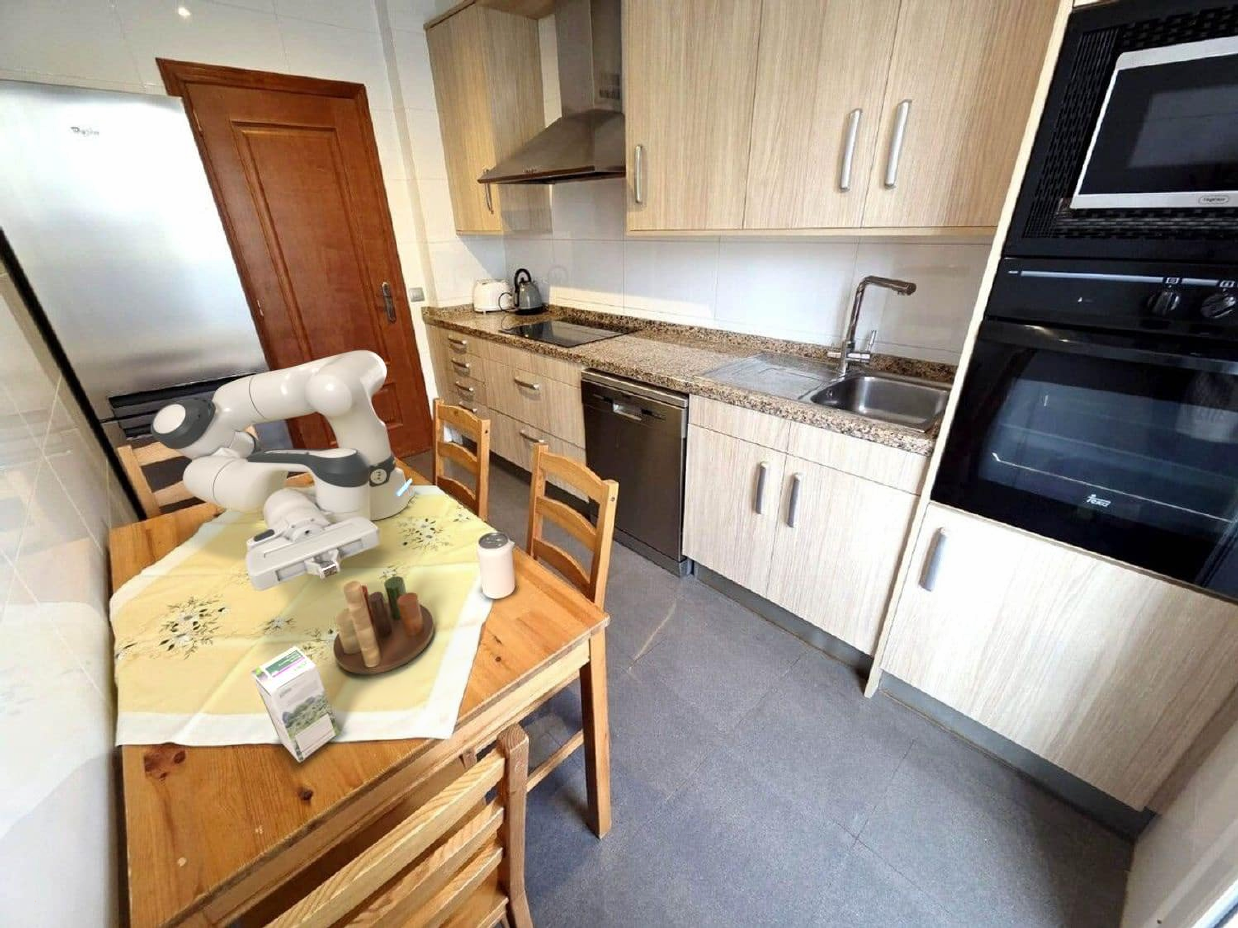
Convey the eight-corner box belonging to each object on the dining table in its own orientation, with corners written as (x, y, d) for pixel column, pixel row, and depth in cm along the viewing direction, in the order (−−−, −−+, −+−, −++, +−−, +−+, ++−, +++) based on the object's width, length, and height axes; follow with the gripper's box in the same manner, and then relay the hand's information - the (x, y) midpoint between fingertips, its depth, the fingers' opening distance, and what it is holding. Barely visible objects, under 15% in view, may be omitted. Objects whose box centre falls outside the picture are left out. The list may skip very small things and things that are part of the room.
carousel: (319, 678, 80) (290, 596, 73) (353, 609, 94) (332, 534, 87) (423, 669, 82) (405, 588, 75) (441, 602, 96) (427, 528, 89)
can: (507, 602, 98) (502, 552, 93) (477, 597, 99) (470, 547, 94) (520, 581, 104) (515, 532, 99) (491, 576, 105) (485, 528, 100)
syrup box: (320, 713, 76) (294, 642, 70) (341, 734, 73) (316, 662, 66) (280, 742, 72) (248, 669, 65) (300, 765, 69) (269, 692, 62)
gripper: (368, 529, 99) (397, 560, 90) (246, 574, 87) (265, 616, 78) (362, 502, 97) (390, 531, 88) (234, 544, 84) (252, 584, 75)
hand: (330, 571), depth 82 cm, fingers closed
